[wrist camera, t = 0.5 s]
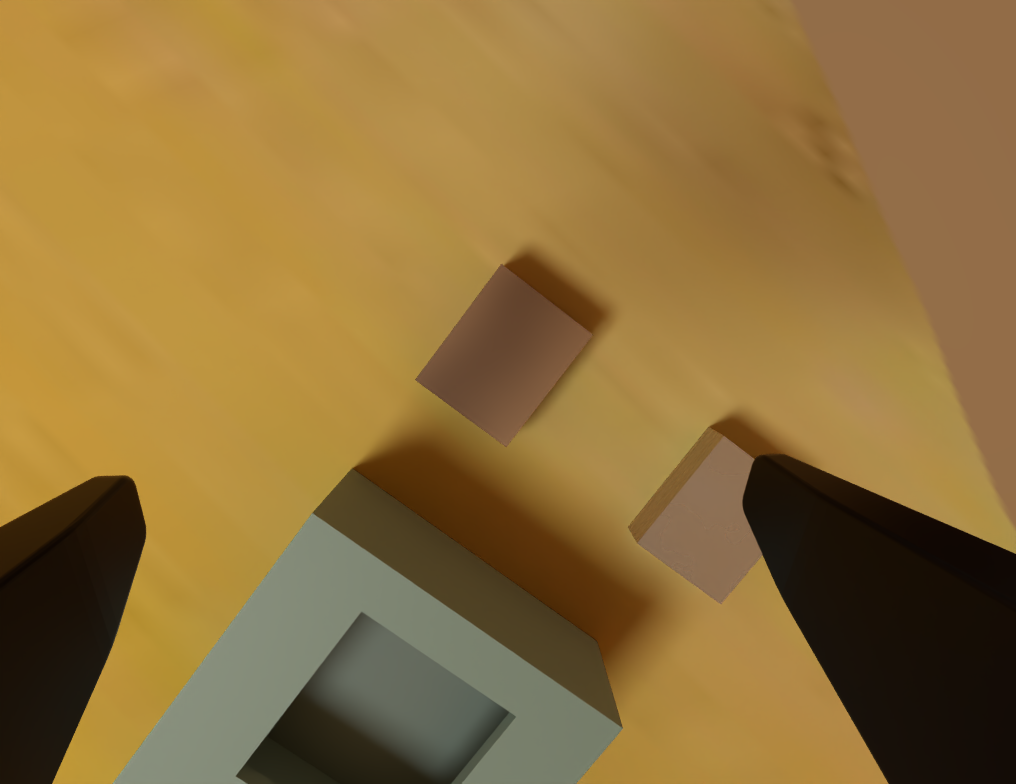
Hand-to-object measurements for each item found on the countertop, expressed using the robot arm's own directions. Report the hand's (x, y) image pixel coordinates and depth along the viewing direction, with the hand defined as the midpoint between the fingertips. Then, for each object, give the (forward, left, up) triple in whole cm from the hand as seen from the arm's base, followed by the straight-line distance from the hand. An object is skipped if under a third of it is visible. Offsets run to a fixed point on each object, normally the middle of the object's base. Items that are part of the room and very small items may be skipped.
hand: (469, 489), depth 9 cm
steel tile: (-10, -1, -15) cm, 18 cm away
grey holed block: (-4, +16, -14) cm, 22 cm away
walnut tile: (0, -1, -15) cm, 15 cm away
